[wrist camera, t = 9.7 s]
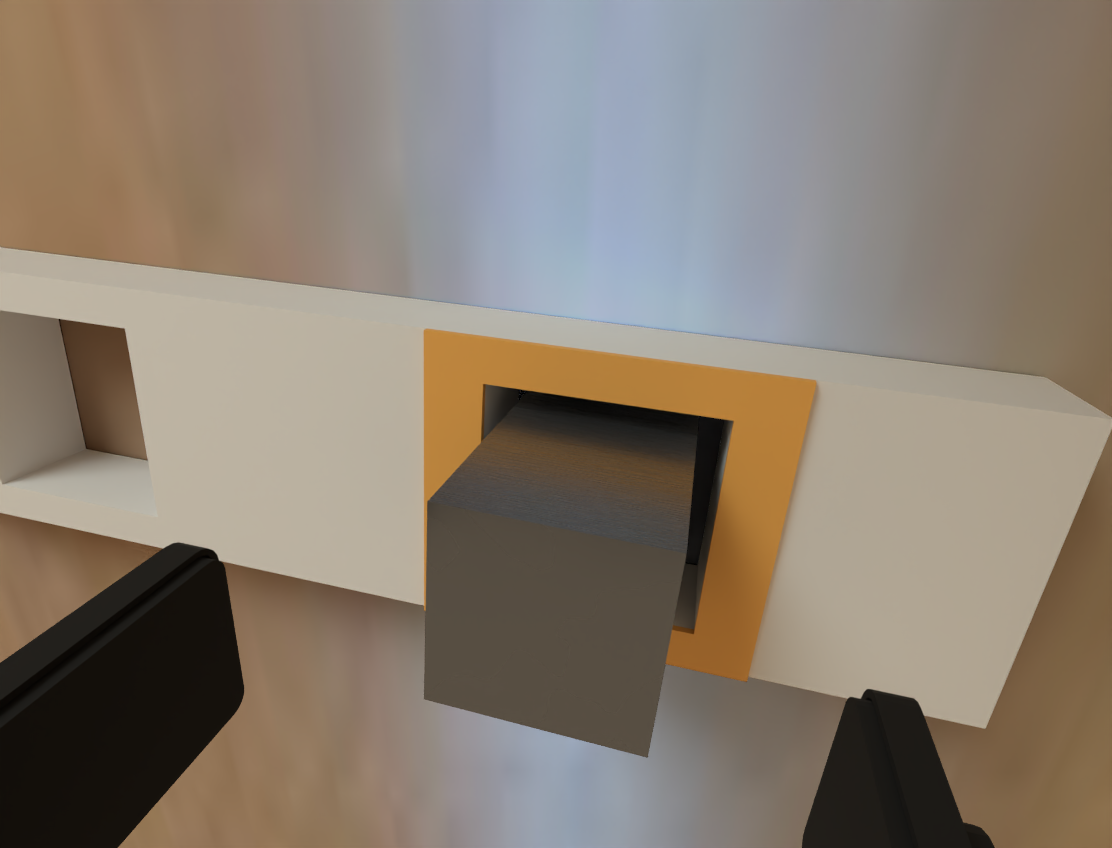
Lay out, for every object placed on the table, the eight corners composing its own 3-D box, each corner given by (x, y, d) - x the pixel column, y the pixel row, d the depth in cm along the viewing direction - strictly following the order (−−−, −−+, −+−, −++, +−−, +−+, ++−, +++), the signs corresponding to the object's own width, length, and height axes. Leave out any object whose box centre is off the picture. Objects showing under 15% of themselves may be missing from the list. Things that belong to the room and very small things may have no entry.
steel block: (543, 373, 18) (427, 501, 11) (700, 398, 18) (686, 553, 10) (532, 509, 20) (424, 699, 13) (674, 537, 19) (647, 757, 12)
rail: (-126, 231, 22) (-255, 239, 19) (1045, 377, 15) (1121, 422, 12) (-62, 445, 25) (-165, 480, 22) (945, 647, 18) (988, 735, 15)
